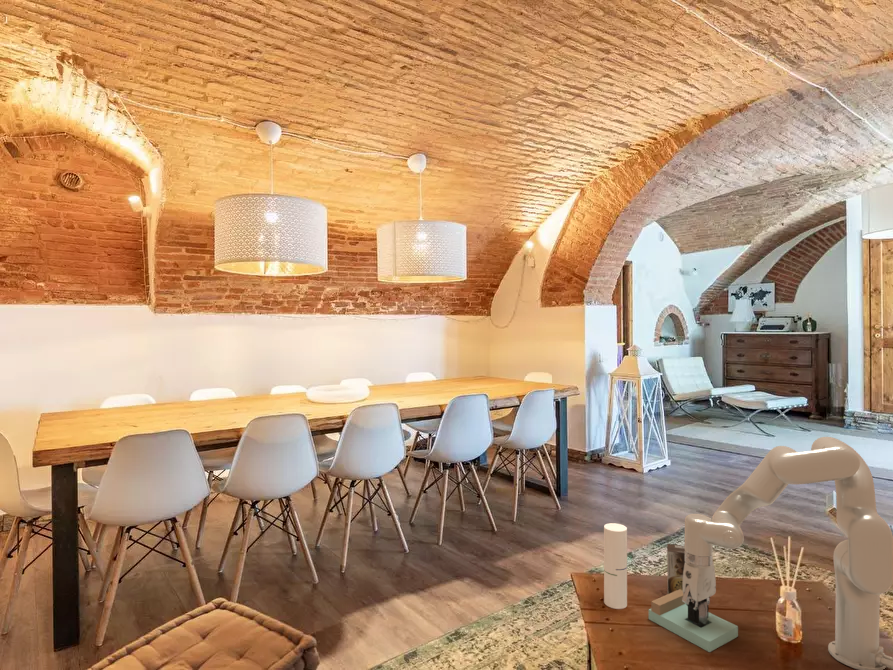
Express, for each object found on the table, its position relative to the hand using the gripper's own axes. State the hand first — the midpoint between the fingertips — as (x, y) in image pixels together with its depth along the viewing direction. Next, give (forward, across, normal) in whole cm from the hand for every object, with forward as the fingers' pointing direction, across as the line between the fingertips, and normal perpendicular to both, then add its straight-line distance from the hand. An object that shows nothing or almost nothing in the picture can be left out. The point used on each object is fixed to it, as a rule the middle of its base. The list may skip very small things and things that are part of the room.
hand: (698, 618), depth 161 cm
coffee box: (+4, +14, +15) cm, 21 cm away
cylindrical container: (+4, -8, +24) cm, 26 cm away
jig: (+4, 0, +2) cm, 4 cm away
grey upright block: (+3, 0, -1) cm, 3 cm away
